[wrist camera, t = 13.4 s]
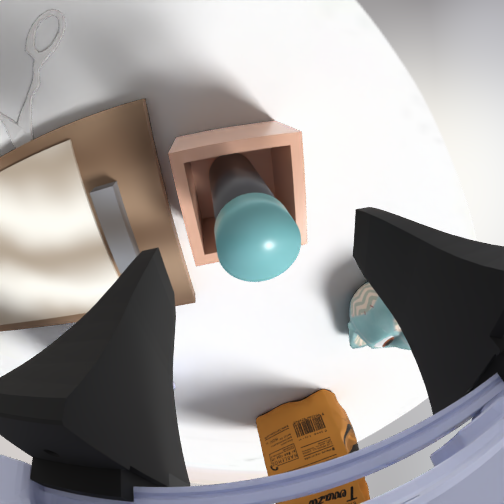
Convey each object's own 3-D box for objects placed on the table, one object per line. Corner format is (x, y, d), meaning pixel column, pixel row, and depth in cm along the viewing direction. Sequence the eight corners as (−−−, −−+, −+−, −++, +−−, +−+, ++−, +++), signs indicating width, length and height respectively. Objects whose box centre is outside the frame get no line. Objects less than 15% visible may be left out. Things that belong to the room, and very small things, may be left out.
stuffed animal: (393, 381, 28) (345, 386, 21) (364, 337, 33) (309, 323, 26) (462, 318, 25) (445, 294, 17) (425, 277, 30) (390, 238, 23)
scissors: (60, -13, 8) (127, 247, 19) (64, -11, 9) (129, 242, 20) (-44, 63, 8) (25, 278, 18) (-38, 63, 8) (29, 273, 19)
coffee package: (343, 404, 40) (390, 519, 21) (273, 432, 41) (304, 547, 22) (331, 381, 34) (389, 526, 16) (246, 414, 35) (280, 557, 17)
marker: (257, 191, 19) (302, 272, 11) (211, 200, 18) (225, 288, 11) (252, 147, 17) (299, 200, 9) (203, 155, 17) (209, 217, 9)
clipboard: (195, 294, 23) (195, 311, 21) (-6, 325, 21) (-12, 338, 19) (145, 98, 15) (139, 99, 13) (-68, 204, 13) (-80, 213, 11)
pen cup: (283, 208, 20) (307, 244, 16) (195, 225, 20) (196, 266, 15) (275, 120, 17) (301, 131, 13) (176, 137, 16) (167, 153, 12)
